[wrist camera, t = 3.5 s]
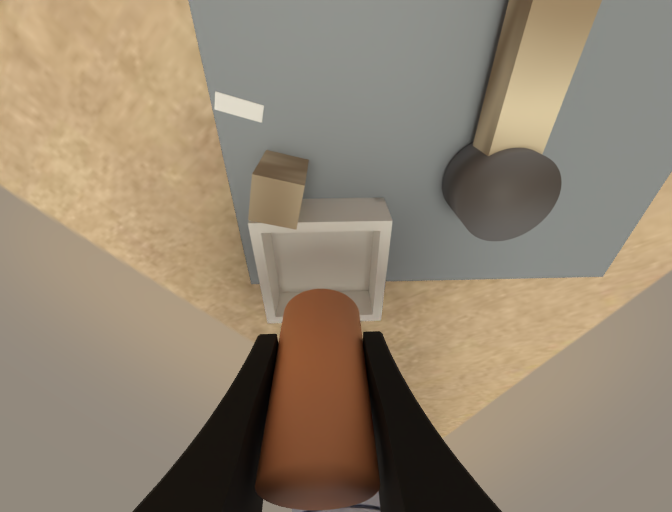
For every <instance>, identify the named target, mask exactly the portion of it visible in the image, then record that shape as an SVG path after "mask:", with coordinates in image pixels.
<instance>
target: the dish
mask: <svg viewBox="0 0 672 512" xmlns="http://www.w3.org/2000/svg"><path fill="white" fill-rule="evenodd" d="M248 227H249V232H250V237H251V242H252V247H253V252H254V257H255V262H256V267H257V272H258V277H259V282H260V287H261V292H262V297H263V302H264V307H265V312H266V317H267V322H268V323H282V320H283V314H284V310H285V307H286V305H287V304H288V302H289V301H290V300H291V299H292V298H293V297H295V296H296V295H298V294H300V293H302V292H304V291H308V290H312V289H331V290H336V291H339V292H341V293H343V294H345V295H347V296H348V297H350V298H351V299H352V300H353V301H354V302H355V304H356V305H357V307H358V310H359V315H360V321H381V316H382V307H383V299H384V290H385V281H386V273H387V264H388V256H389V247H390V238H391V230H392V218H391V215H390V213H389V210H388V207H387V205H386V202H385V199H384V197H383V198H321V199H302V203H301V208H300V213H299V219H298V224H297V229H296V230H295V229H290V228H285V227H280V226H275V225H269V224H264V223H259V222H254V221H249V222H248Z"/></svg>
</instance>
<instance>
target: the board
mask: <svg viewBox="0 0 672 512" xmlns="http://www.w3.org/2000/svg"><path fill="white" fill-rule="evenodd" d="M188 1H189V5H190V10H191V14H192V19H193V23H194V28H195V32H196V37H197V41H198V46H199V50H200V55H201V59H202V64H203V68H204V73H205V77H206V82H207V86H208V91H209V95H210V100H211V104H212V109H213V113H214V118H215V122H216V127H217V131H218V136H219V140H220V145H221V150H222V154H223V159H224V163H225V168H226V172H227V177H228V181H229V186H230V190H231V195H232V199H233V204H234V208H235V213H236V217H237V222H238V226H239V231H240V235H241V240H242V244H243V249H244V253H245V258H246V262H247V267H248V271H249V276H250V280H251V284H260V282H259V277H258V272H257V267H256V262H255V257H254V252H253V247H252V242H251V237H250V232H249V227H248V222H249V220H248V216H249V204H250V192H251V180H252V173H253V172H254V170H255V168H256V166H257V165H258V163H259V161H260V160H261V158H262V156H263V154H264V153H265V151H266V150H269V151H273V152H278V153H282V154H286V155H291V156H295V157H299V158H303V159H308V160H309V162H308V169H307V175H306V181H305V187H304V193H303V198H302V199H321V198H383V197H384V199H385V202H386V205H387V207H388V210H389V213H390V215H391V218H392V230H391V238H390V247H389V256H388V264H387V273H386V281H422V280H470V279H517V278H565V277H603V276H604V274H605V272H606V271H607V269H608V268H609V266H610V265H611V263H612V262H613V260H614V259H615V257H616V256H617V254H618V253H619V251H620V250H621V248H622V246H623V245H624V243H625V242H626V240H627V239H628V237H629V236H630V234H631V233H632V231H633V230H634V228H635V227H636V225H637V224H638V222H639V220H640V219H641V217H642V216H643V214H644V213H645V211H646V210H647V208H648V207H649V205H650V204H651V202H652V201H653V199H654V198H655V196H656V194H657V193H658V191H659V190H660V188H661V187H662V185H663V184H664V182H665V181H666V179H667V178H668V176H669V175H670V173H671V172H672V0H602V2H601V4H600V7H599V9H598V12H597V15H596V17H595V20H594V22H593V25H592V27H591V30H590V33H589V35H588V38H587V40H586V43H585V46H584V48H583V51H582V53H581V56H580V59H579V61H578V64H577V66H576V69H575V71H574V74H573V77H572V79H571V82H570V84H569V87H568V90H567V92H566V95H565V97H564V100H563V102H562V105H561V108H560V110H559V113H558V115H557V118H556V121H555V123H554V126H553V128H552V131H551V133H550V136H549V139H548V141H547V144H546V146H545V149H544V152H543V154H542V155H544V156H546V157H548V158H549V159H551V160H552V161H553V162H554V163H555V164H556V165H557V167H558V169H559V171H560V174H561V181H562V184H561V191H560V195H559V198H558V200H557V202H556V204H555V206H554V207H553V209H552V210H551V212H550V213H549V214H548V216H547V217H546V218H545V219H544V220H543V221H542V222H541V223H539V224H538V225H537V226H536V227H534V228H533V229H532V230H530V231H528V232H527V233H525V234H523V235H521V236H518V237H516V238H513V239H509V240H505V241H486V240H482V239H479V238H477V237H475V236H474V235H472V234H471V233H470V232H469V231H468V230H467V228H466V227H465V226H464V224H463V223H462V222H461V221H460V219H459V218H458V217H457V215H456V214H455V213H454V211H453V210H452V209H451V208H450V206H449V205H448V204H447V202H446V200H445V198H444V195H443V190H442V184H443V178H444V174H445V172H446V169H447V167H448V166H449V164H450V162H451V161H452V159H453V158H454V157H455V156H456V155H457V154H458V153H459V152H460V151H461V150H462V149H463V148H465V147H466V146H467V145H469V144H471V143H472V142H474V138H475V134H476V130H477V126H478V122H479V118H480V114H481V110H482V106H483V102H484V98H485V94H486V90H487V86H488V82H489V78H490V74H491V70H492V66H493V62H494V58H495V54H496V50H497V46H498V42H499V38H500V34H501V30H502V26H503V22H504V18H505V14H506V10H507V6H508V2H509V0H188Z"/></svg>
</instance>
